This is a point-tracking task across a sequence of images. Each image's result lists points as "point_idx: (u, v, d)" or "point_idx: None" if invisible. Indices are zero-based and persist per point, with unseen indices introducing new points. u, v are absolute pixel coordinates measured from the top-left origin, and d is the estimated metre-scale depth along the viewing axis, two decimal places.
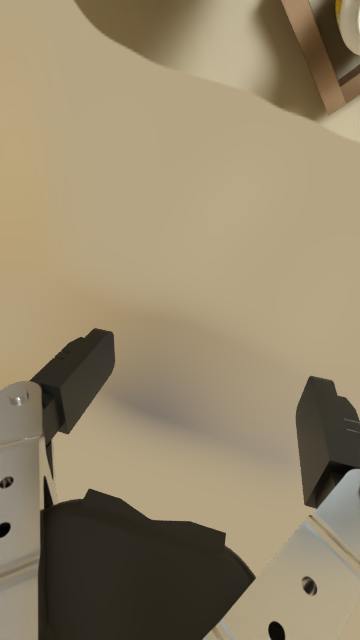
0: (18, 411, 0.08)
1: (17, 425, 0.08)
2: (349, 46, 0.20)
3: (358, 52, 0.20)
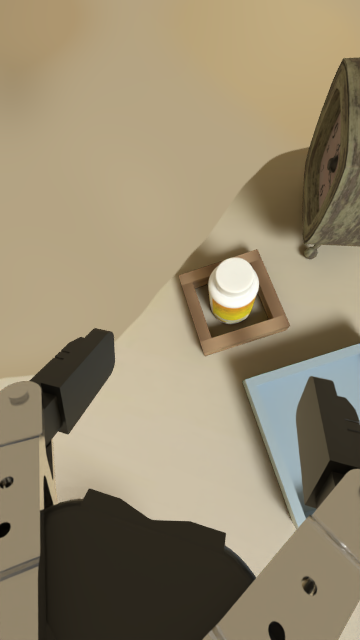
0: (18, 411, 0.08)
1: (17, 425, 0.08)
2: None
3: (215, 269, 0.33)
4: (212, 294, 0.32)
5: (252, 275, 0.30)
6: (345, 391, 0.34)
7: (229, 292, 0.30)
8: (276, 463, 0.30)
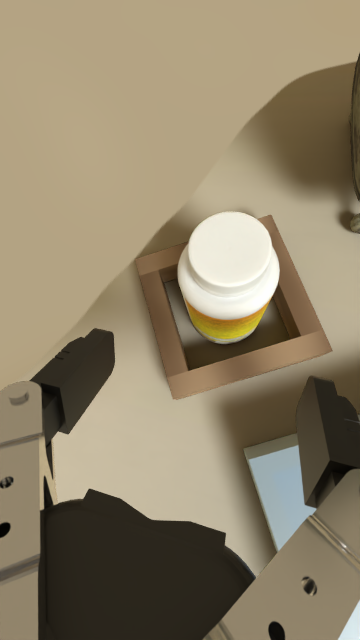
0: (18, 411, 0.08)
1: (17, 425, 0.08)
2: None
3: None
4: (184, 290, 0.16)
5: (268, 248, 0.13)
6: None
7: (216, 285, 0.13)
8: None
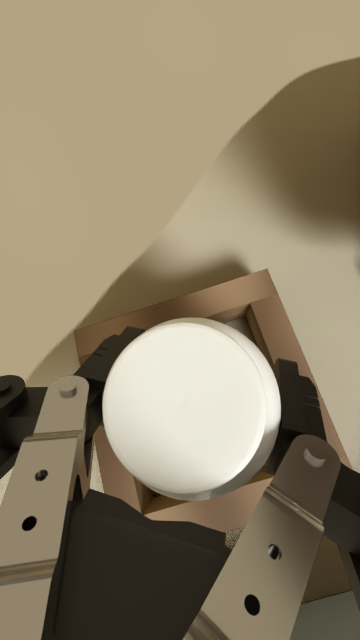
0: (65, 404, 0.08)
1: (72, 417, 0.08)
2: (147, 331, 0.10)
3: None
4: None
5: (259, 412, 0.07)
6: None
7: (152, 486, 0.07)
8: None
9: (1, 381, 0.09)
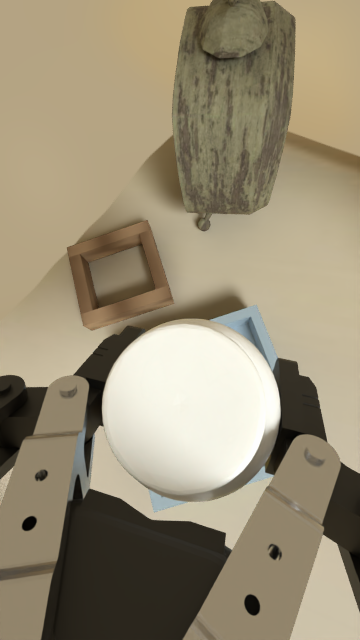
0: (65, 404, 0.08)
1: (72, 417, 0.08)
2: (147, 332, 0.10)
3: None
4: None
5: (259, 413, 0.07)
6: None
7: (152, 487, 0.07)
8: None
9: (1, 381, 0.09)
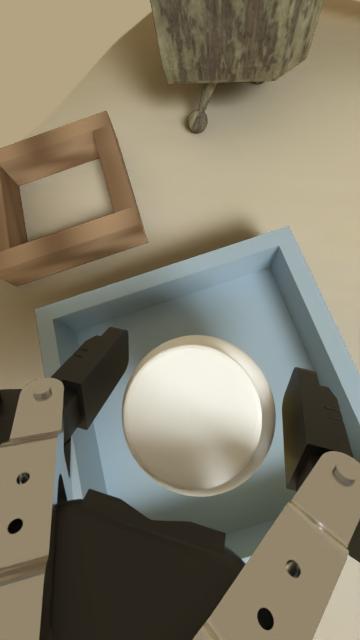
0: (40, 407, 0.08)
1: (43, 420, 0.08)
2: (158, 347, 0.11)
3: (143, 361, 0.11)
4: (129, 446, 0.10)
5: (256, 422, 0.08)
6: (228, 336, 0.19)
7: (167, 484, 0.08)
8: None
9: None
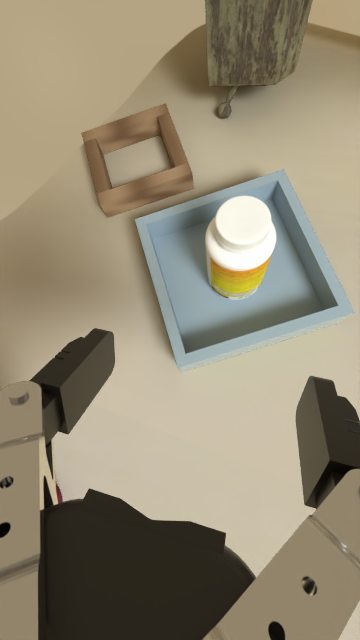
0: (18, 411, 0.08)
1: (17, 425, 0.08)
2: None
3: (214, 217, 0.23)
4: (210, 251, 0.23)
5: (269, 219, 0.20)
6: None
7: (234, 243, 0.20)
8: (158, 296, 0.28)
9: None
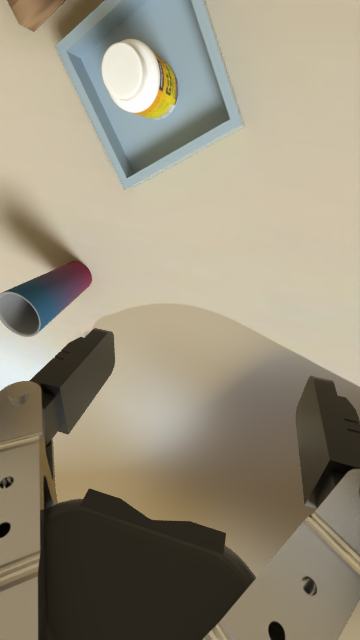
0: (18, 411, 0.08)
1: (17, 425, 0.08)
2: None
3: None
4: (112, 98, 0.29)
5: (139, 69, 0.26)
6: (163, 40, 0.32)
7: (120, 98, 0.27)
8: (97, 132, 0.36)
9: None
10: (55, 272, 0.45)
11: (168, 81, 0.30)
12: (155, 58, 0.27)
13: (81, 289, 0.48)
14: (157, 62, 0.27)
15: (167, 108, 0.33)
